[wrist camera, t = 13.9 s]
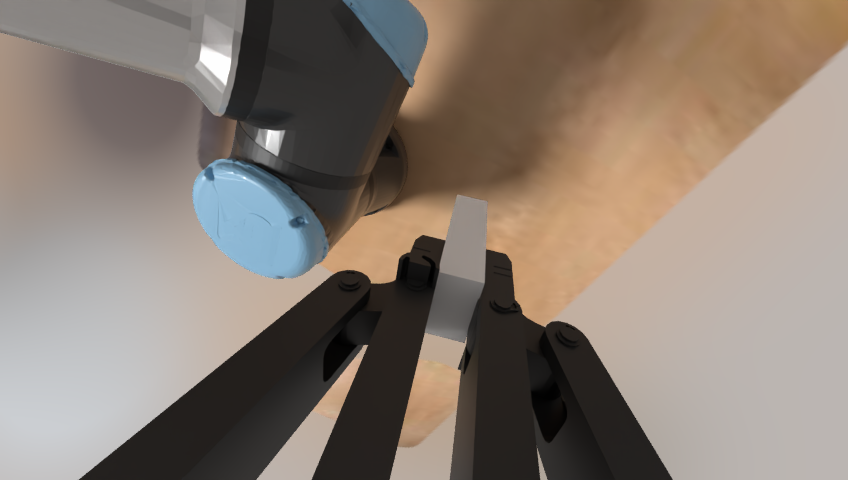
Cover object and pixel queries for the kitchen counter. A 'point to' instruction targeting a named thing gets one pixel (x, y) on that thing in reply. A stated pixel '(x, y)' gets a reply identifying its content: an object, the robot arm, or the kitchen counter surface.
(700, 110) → the kitchen counter surface
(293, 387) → the robot arm
